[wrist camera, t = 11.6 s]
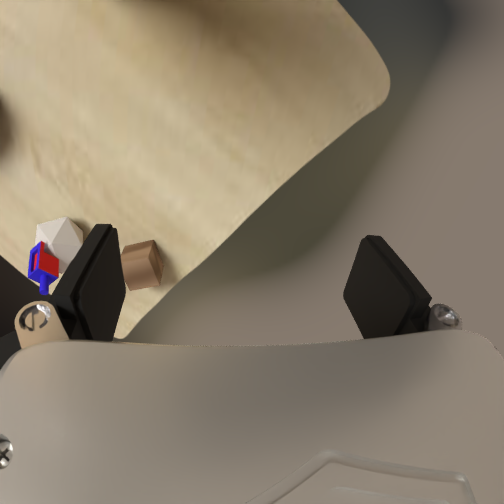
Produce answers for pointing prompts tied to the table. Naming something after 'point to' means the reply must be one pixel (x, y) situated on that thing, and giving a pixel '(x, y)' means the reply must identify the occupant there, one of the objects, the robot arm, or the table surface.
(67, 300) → the robot arm
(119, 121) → the table surface
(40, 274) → the toy building block
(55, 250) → the die
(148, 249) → the walnut cube
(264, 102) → the table surface
